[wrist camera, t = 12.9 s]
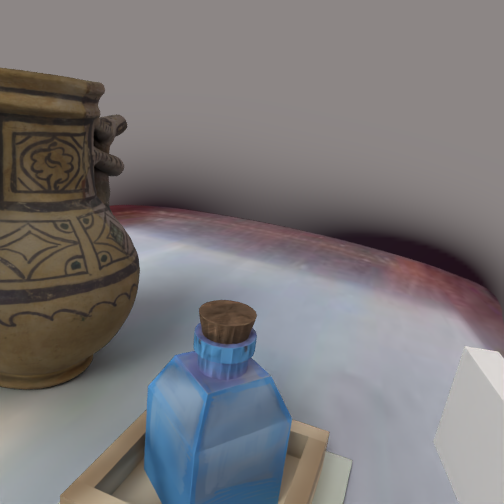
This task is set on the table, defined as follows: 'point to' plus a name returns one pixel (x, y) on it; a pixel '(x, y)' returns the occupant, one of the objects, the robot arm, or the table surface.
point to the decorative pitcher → (58, 230)
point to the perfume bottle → (217, 417)
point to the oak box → (143, 493)
